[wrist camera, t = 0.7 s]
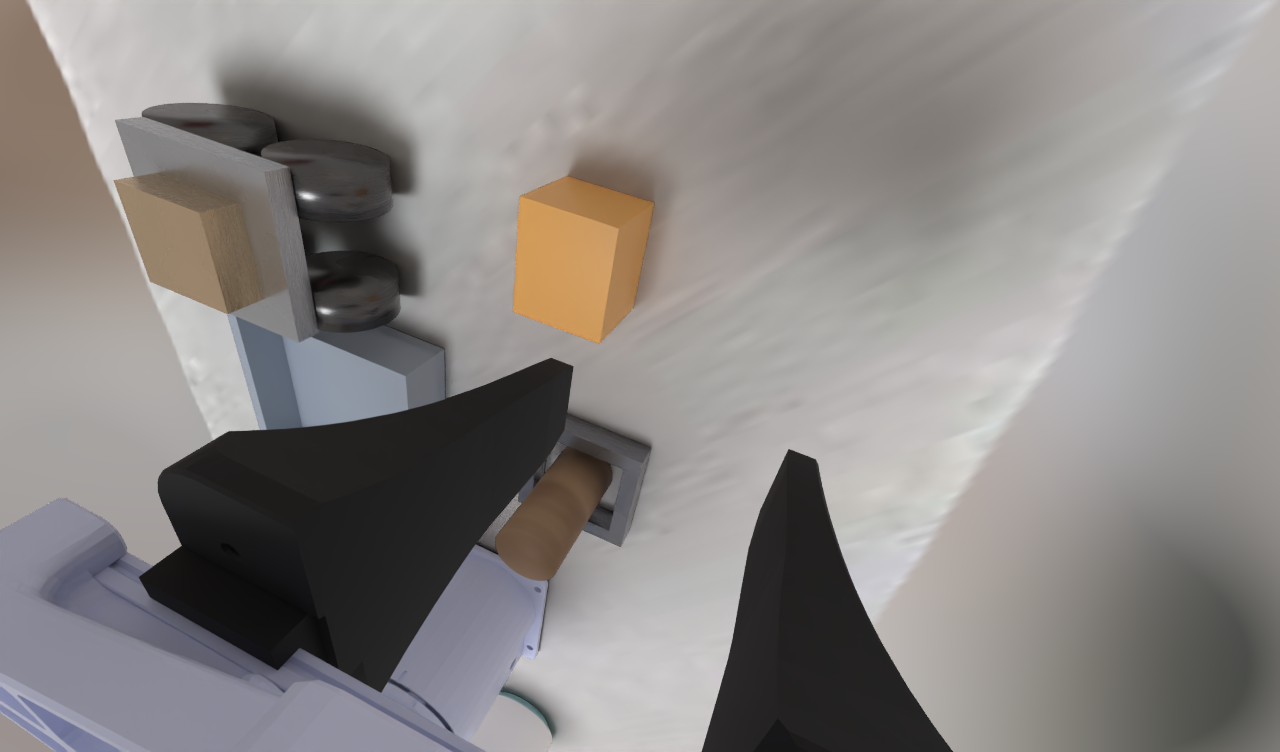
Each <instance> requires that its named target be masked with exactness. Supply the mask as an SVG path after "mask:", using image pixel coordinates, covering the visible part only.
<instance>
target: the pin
mask: <svg viewBox="0 0 1280 752" xmlns="http://www.w3.org/2000/svg"><path fill="white" fill-rule="evenodd" d="M611 481H612V470H611V468H610V465H609V464H608V463H607V462H605V461H603V460H600V459H598V458H595V457H593V456H591V455H588V454H586V453H583V452H581V451H578V450H576V449H574V448H571V447H567V448H565V449H564V450H563V451H562V452H561V454H560V455H559V456H558V458H557V459H556V460H555V461H554V463H553V464H552V465H551V467H550V468H549V469H548V470H547V472H546V473H545V474H544V475H543V477H542V478H541V479H540V481H539V482H538V483H537V484H536V486H535V487H534V488H533V490H532V491H531V492H530V493H529V495H528V496H527V497H526V499H525V500H524V501H523V502H522V504H521V505H520V506H519V507H518V509H517V510H516V511H515V513H514V514H513V515H512V516H511V518H510V519H509V520H508V522H507V523H506V524H505V525H504V527H503V528H502V529H501V530H500V532H499V533H498V534H497V536H496V538H495V547H496V550H497V552H498V554H499V556H500V557H501V559H502V560H503V561H504V562H505V564H506V565H507V566H508V567H510V568H511V569H512V570H513V571H515V572H516V573H518V574H519V575H521V576H523V577H526V578H528V579H531V580H536V581H545V580H549V579H551V578H552V577H553V576H554V575H555V573H556V572H557V570H558V568H559V567H560V565H561V564H562V562H563V560H564V559H565V557H566V555H567V554H568V552H569V551H570V549H571V547H572V546H573V544H574V542H575V541H576V539H577V538H578V536H579V534H580V533H581V531H582V529H583V528H584V526H585V524H586V523H587V521H588V520H589V518H590V516H591V515H592V513H593V511H594V510H595V508H596V507H597V505H598V503H599V502H600V500H601V498H602V497H603V495H604V494H605V492H606V490H607V489H608V487H609V485H610V484H611Z"/></svg>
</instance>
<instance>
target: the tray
mask: <svg viewBox="0 0 1280 752" xmlns="http://www.w3.org/2000/svg"><path fill="white" fill-rule="evenodd" d="M227 316H228V319H229V323H230V326H231V330H232V333H233V337H234V340H235V344H236V347H237V351H238V355H239V358H240V362H241V365H242V369H243V372H244V376H245V379H246V383H247V386H248V390H249V393H250V397H251V400H252V404H253V407H254V411H255V414H256V418H257V421H258V425H259V429H260V430H271V429H288V428H300V427H310V426H319V425H327V424H335V423H342V422H349V421H355V420H360V419H365V418H371V417H376V416H381V415H386V414H392V413H396V412H400V411H404V410H408V409H412V408H416V407H420V406H424V405H427V404H431V403H434V402H437V401H441V400H444V399H445V361H444V349H442V348H440V347H437V346H435V345H432V344H430V343H427V342H425V341H422V340H420V339H417V338H415V337H412V336H410V335H407V334H405V333H402V332H400V331H397V330H395V329H392V328H390V327H387V326H385V325H383V326H380V327H378V328H374V329H371V330H366V331H360V332H351V333H335V332H326V331H321V330H318V331H319V333H317V334H315V335H313V336H312V337H310V338H308V339H306V340H304V341H302V342H300V343H298V342H296V341H293V340H291V339H288V338H286V337H284V336H281V335H279V334H277V333H274V332H272V331H269V330H267V329H265V328H262V327H260V326H258V325H255V324H253V323H250V322H248V321H246V320H243V319H241V318H239V317H236V316H234V315H231V314H227Z"/></svg>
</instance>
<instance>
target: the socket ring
mask: <svg viewBox="0 0 1280 752" xmlns="http://www.w3.org/2000/svg"><path fill="white" fill-rule="evenodd" d="M557 442H559V443H562V444H564V445H566V446H569V447H571V448H574V449H576V450H578V451H581V452H583V453H586V454H588V455H591V456H593V457H595V458H598V459H600V460H603V461H605V462H607V463H610V464H612V465H615V466H617V467H619V468H622V469H624V470H623V474H622V479H621V483H620V487H619V491H618V495H617V500H616V504H615V508H614V512H613V513H612V512H610V511H608V510H606V509H603V508H601V507H599V506H597V507H596V508H595V510H594V511H593V513H592V515H591V516H590V518H589V520H588V521H587V523H586V524H585V526H584V528H583V529H582V530H584V531H586V532H588V533H590V534H593V535H595V536H597V537H599V538H601V539H604V540H606V541H608V542H610V543H613V544H615V545H617V546H619V547H621V546H622V544H623V542H624V540H625V538H626V536H627V534H628V532H629V530H630V526H631V522H632V519H633V515H634V511H635V507H636V504H637V500H638V496H639V492H640V489H641V485H642V481H643V478H644V474H645V470H646V466H647V463H648V459H649V455H650V451H651V448H650V447H648V446H645V445H643V444H640V443H638V442H635V441H633V440H630V439H628V438H625V437H623V436H620V435H618V434H615V433H613V432H610V431H608V430H605V429H603V428H601V427H598V426H596V425H593V424H591V423H588V422H586V421H583V420H581V419H578V418H576V417H573V416H571V415H568V414H567V416H566V423H565V430H564V432H563V433H562V435H561V436H560V438H559V440H558V441H557ZM545 464H546V460H545V461H544V463H543V464H542V465H541V466H540V467H539V469H538V470H537V471H536V472H535V473H534V475H533V476H532V477H531V478H530V479H529V480H528V482H527V483H526V484H525V485H524V486H523V488H522V489H521V490H520V491H519V496H518V501H519V502H521V503H522V502H523V501H524V500H525V499H526V497H527V496H528V495H529V493H530V492H531V491H532V490H533V488H534V487H535V486H536V484H537V483H538V482H539V481H540V479H541V478H542V477H543V475H544V473H545Z"/></svg>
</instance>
